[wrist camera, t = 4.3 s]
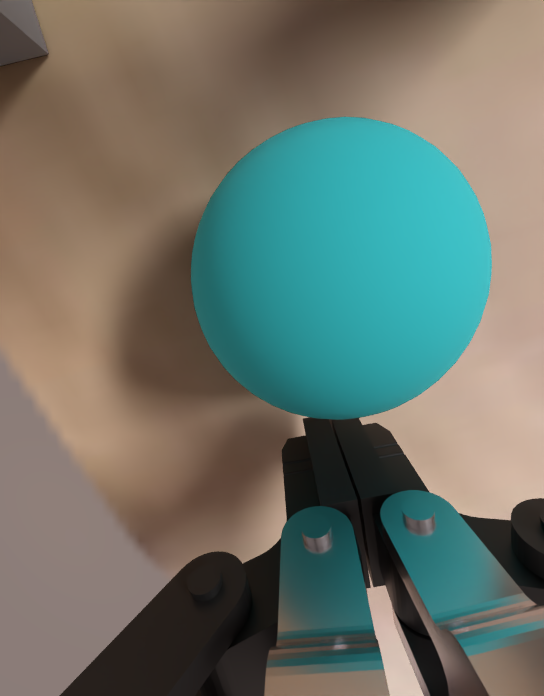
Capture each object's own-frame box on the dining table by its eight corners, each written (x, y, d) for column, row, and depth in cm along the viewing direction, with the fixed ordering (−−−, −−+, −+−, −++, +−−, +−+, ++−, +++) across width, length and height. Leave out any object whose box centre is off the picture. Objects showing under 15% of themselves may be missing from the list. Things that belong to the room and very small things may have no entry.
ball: (117, 437, 5) (128, 172, 8) (303, 454, 10) (272, 284, 13) (601, 259, 3) (384, -56, 5) (546, 395, 7) (445, 195, 10)
